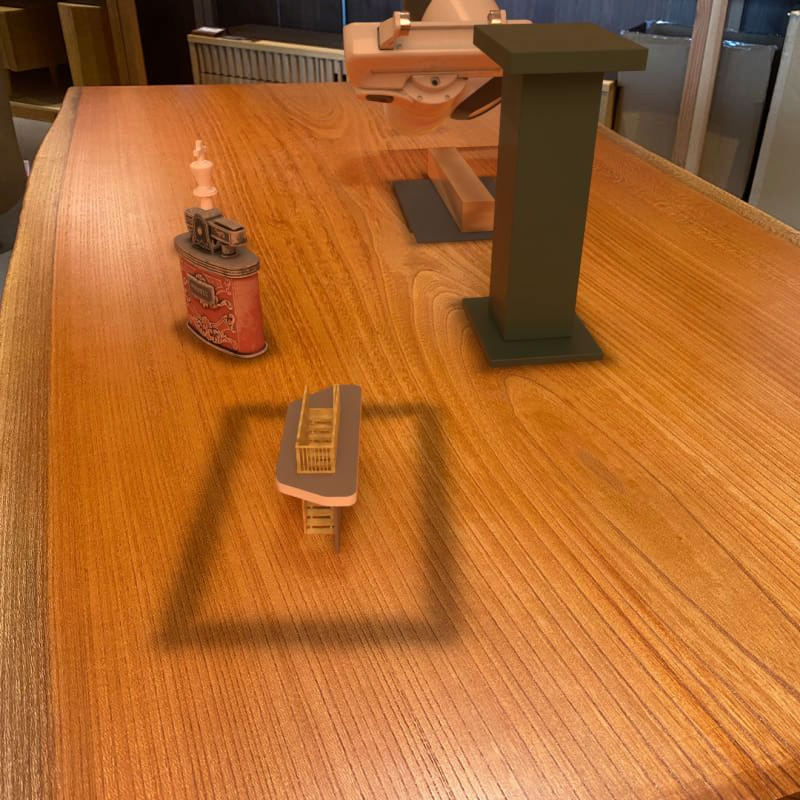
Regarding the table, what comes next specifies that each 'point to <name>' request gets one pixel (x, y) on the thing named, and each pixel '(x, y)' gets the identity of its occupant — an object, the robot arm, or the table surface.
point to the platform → (322, 455)
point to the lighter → (221, 284)
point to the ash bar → (461, 190)
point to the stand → (543, 186)
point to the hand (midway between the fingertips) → (451, 18)
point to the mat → (434, 212)
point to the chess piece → (203, 176)
